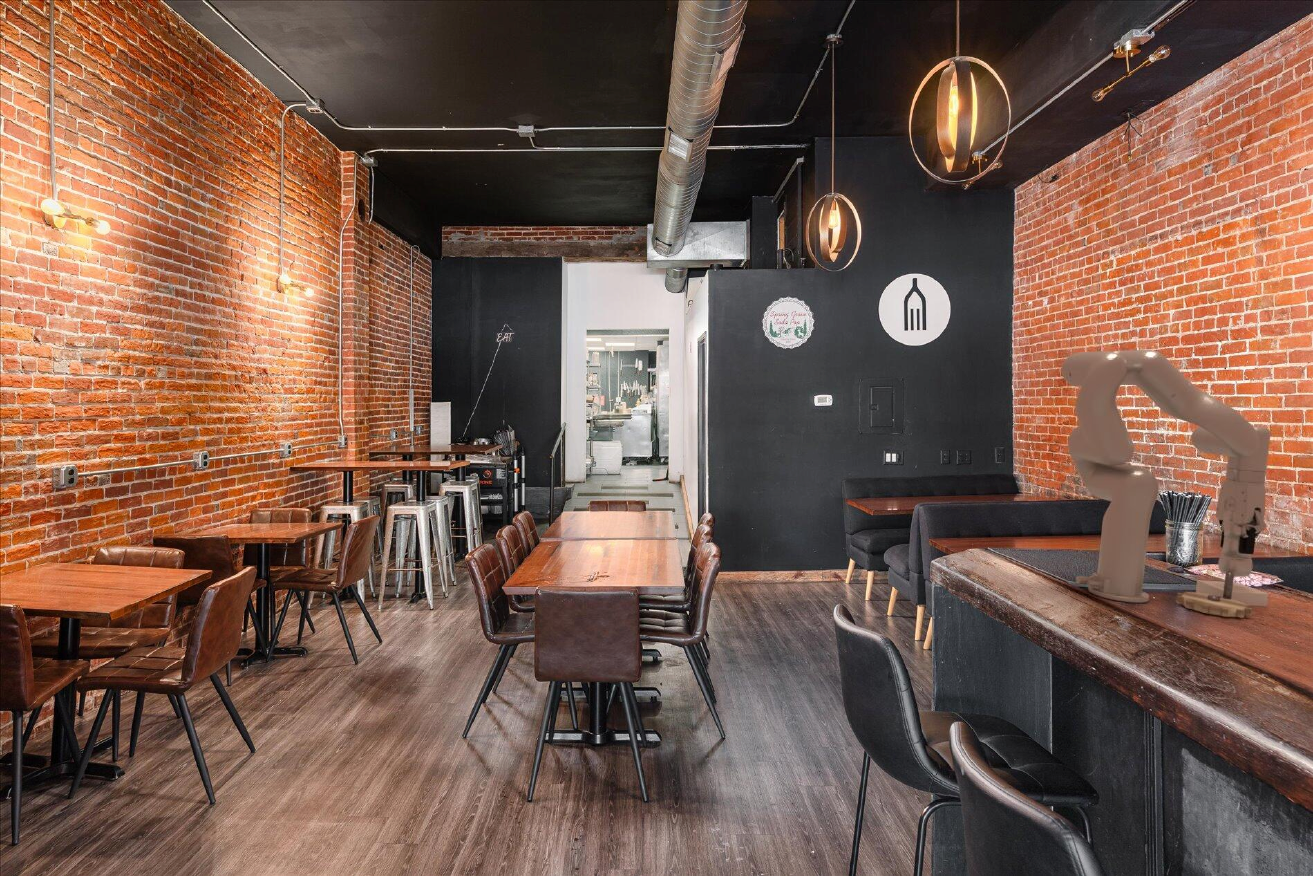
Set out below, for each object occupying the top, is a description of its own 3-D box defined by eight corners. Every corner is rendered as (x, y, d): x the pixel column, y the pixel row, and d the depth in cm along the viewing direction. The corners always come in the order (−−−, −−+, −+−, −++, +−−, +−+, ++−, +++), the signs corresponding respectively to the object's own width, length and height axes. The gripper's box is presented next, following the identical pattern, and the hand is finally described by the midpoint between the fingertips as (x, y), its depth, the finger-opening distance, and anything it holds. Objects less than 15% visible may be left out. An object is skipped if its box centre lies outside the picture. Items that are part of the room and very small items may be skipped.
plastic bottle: (1257, 580, 181) (1266, 498, 179) (1225, 577, 182) (1234, 495, 180) (1242, 574, 187) (1251, 494, 185) (1211, 571, 188) (1220, 492, 187)
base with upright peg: (1249, 622, 164) (1254, 587, 164) (1171, 607, 174) (1175, 573, 173) (1253, 609, 175) (1257, 576, 174) (1179, 595, 184) (1183, 563, 184)
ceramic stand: (1224, 604, 180) (1226, 591, 180) (1195, 591, 190) (1197, 580, 190) (1267, 606, 180) (1268, 594, 180) (1236, 594, 190) (1237, 582, 190)
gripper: (1204, 471, 191) (1196, 542, 193) (1256, 481, 174) (1247, 558, 176) (1234, 473, 191) (1226, 543, 192) (1289, 483, 174) (1280, 560, 175)
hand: (1236, 550), depth 184 cm, fingers closed on plastic bottle, 5 cm apart
